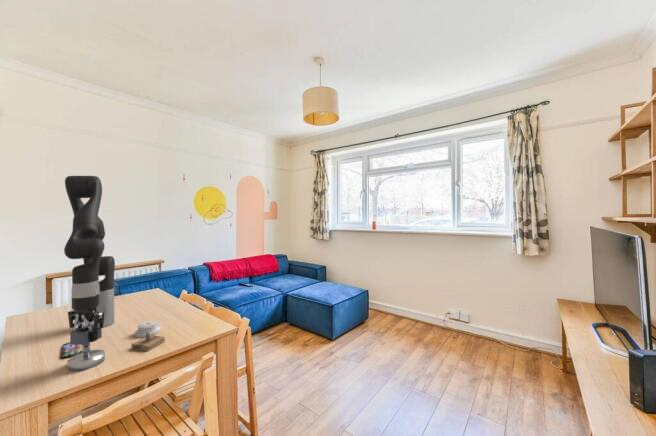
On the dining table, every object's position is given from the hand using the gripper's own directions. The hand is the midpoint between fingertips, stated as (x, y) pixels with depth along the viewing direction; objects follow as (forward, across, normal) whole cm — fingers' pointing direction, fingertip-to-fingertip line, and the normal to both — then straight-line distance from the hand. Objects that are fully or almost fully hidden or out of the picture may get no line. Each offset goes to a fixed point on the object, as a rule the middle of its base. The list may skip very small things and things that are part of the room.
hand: (86, 340), depth 96 cm
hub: (+8, 0, 0) cm, 8 cm away
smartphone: (+9, -16, +7) cm, 20 cm away
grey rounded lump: (+9, 0, +26) cm, 27 cm away
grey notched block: (0, 0, 0) cm, 0 cm away
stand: (+8, +10, +16) cm, 21 cm away
